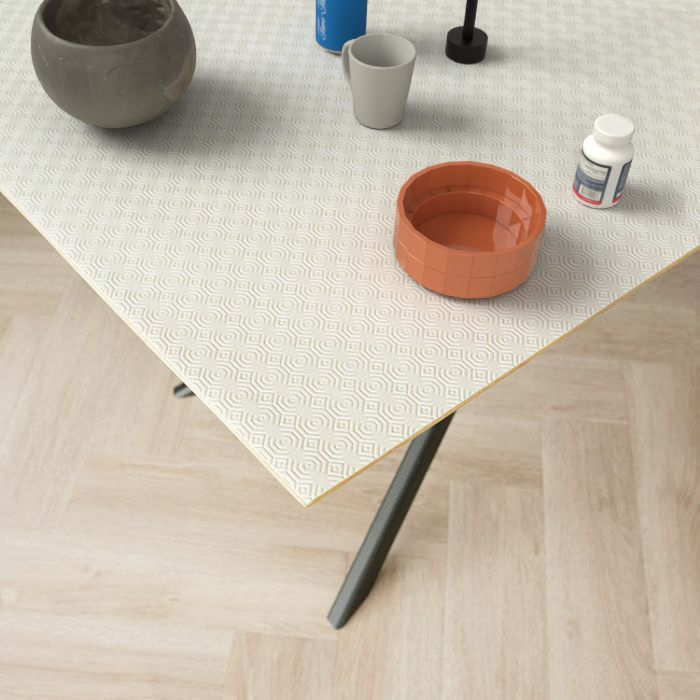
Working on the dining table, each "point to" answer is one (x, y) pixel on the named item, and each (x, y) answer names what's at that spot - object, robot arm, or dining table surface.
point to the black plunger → (467, 39)
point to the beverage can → (339, 22)
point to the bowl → (113, 58)
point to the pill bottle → (604, 162)
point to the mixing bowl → (468, 229)
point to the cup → (379, 77)
